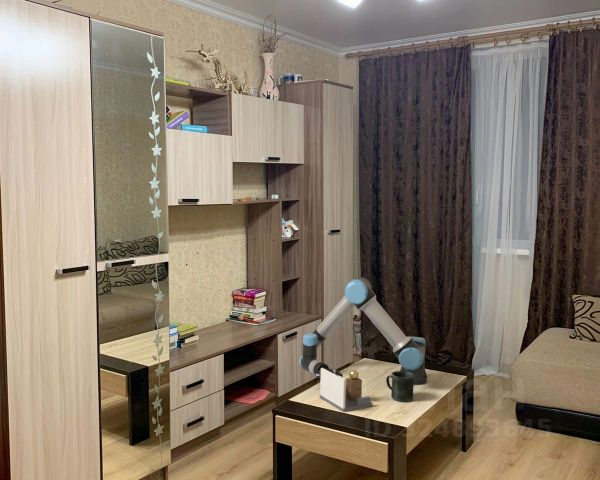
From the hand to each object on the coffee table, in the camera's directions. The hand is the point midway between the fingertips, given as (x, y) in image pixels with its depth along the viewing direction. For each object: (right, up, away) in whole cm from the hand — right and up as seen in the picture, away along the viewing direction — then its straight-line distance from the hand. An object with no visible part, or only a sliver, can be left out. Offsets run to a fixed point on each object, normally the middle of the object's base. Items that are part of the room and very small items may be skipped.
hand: (345, 382), depth 294 cm
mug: (+26, -8, +1) cm, 27 cm away
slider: (+3, -6, -6) cm, 9 cm away
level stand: (0, -8, -7) cm, 10 cm away
